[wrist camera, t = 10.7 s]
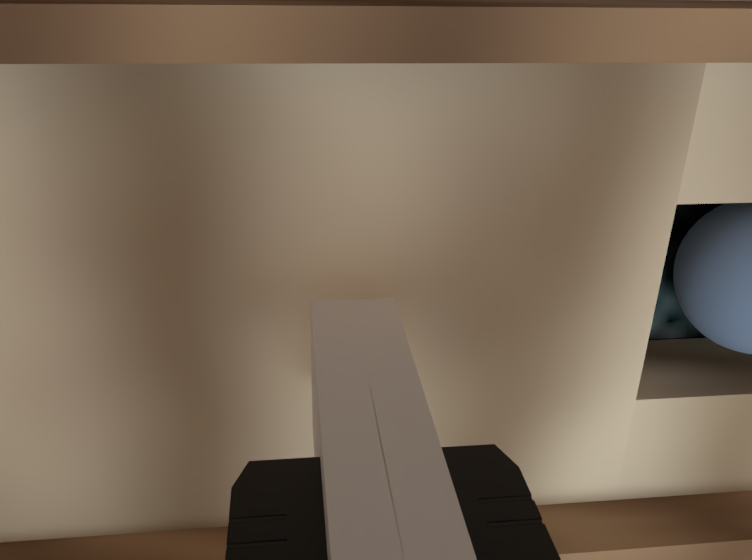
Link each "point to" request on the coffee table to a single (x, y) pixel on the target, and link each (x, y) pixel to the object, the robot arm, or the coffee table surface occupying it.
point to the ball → (718, 276)
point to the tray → (363, 254)
